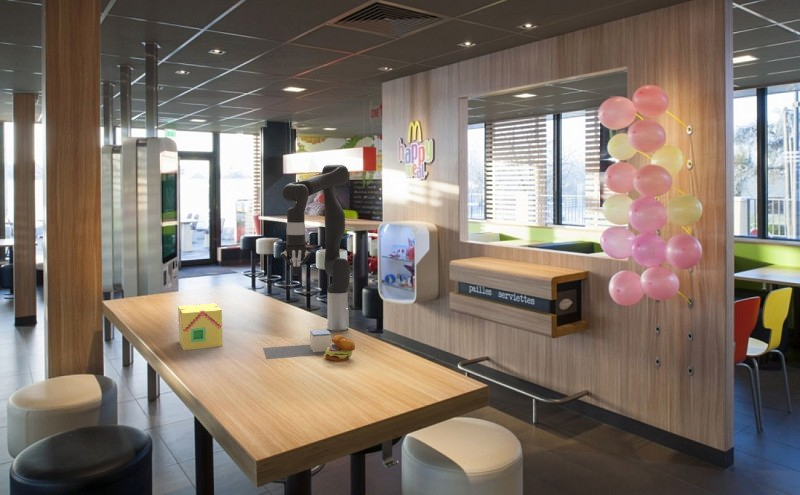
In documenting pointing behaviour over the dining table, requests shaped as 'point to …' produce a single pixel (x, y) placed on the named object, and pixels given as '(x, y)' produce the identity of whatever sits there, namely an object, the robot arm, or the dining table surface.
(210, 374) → the dining table surface
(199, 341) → the toy block
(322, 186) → the robot arm
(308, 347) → the rubber mat
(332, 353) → the cheeseburger
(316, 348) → the cream cube
